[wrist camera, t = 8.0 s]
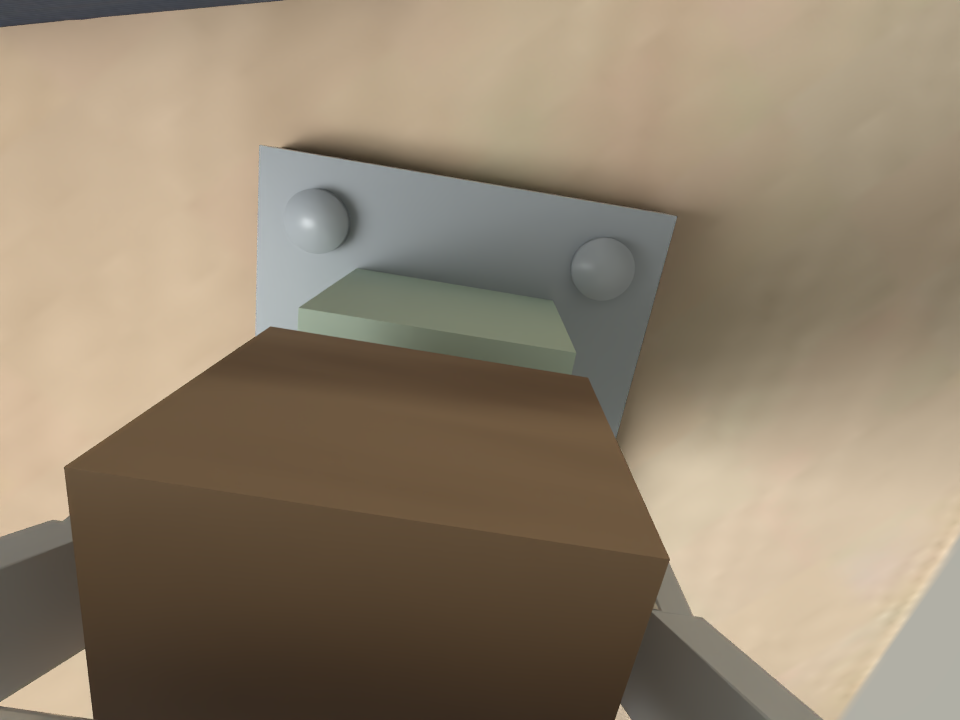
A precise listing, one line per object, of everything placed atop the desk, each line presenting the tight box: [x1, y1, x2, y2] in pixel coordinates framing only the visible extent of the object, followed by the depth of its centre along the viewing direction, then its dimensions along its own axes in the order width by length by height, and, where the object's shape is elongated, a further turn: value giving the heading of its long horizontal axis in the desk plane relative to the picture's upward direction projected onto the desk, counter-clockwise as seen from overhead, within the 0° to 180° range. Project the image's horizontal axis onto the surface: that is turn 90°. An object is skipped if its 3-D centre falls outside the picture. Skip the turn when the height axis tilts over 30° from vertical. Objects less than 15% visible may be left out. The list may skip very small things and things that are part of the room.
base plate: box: [255, 145, 677, 439], centre depth 18 cm, size 12×12×2 cm
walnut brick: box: [64, 326, 670, 720], centre depth 9 cm, size 6×6×5 cm
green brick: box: [297, 268, 576, 375], centre depth 15 cm, size 6×6×5 cm
